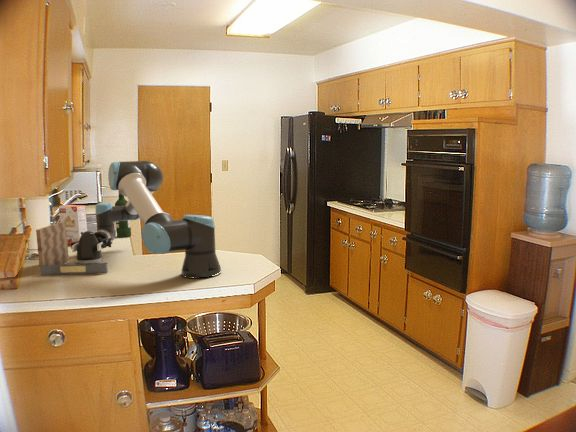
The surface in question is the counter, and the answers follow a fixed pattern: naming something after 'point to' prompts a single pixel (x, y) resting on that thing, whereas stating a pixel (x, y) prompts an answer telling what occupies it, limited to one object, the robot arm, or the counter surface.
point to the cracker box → (73, 221)
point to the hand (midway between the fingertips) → (85, 248)
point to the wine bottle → (122, 226)
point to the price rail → (73, 269)
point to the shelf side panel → (52, 244)
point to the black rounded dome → (88, 249)
